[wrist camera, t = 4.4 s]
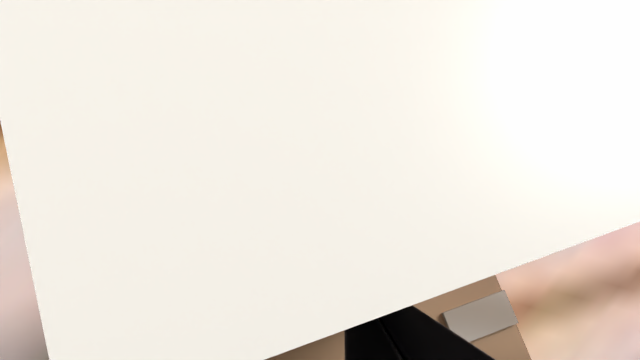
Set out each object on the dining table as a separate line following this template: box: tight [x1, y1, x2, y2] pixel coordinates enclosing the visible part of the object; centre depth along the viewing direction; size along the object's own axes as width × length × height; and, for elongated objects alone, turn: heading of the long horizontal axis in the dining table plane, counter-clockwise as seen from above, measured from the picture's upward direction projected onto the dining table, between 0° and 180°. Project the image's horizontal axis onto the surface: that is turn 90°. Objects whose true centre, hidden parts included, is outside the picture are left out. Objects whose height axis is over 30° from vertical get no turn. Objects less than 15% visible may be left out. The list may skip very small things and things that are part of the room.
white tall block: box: [0, 0, 640, 360], centre depth 9 cm, size 4×5×12 cm
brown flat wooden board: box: [265, 275, 531, 360], centre depth 16 cm, size 17×10×1 cm, turn 19°
